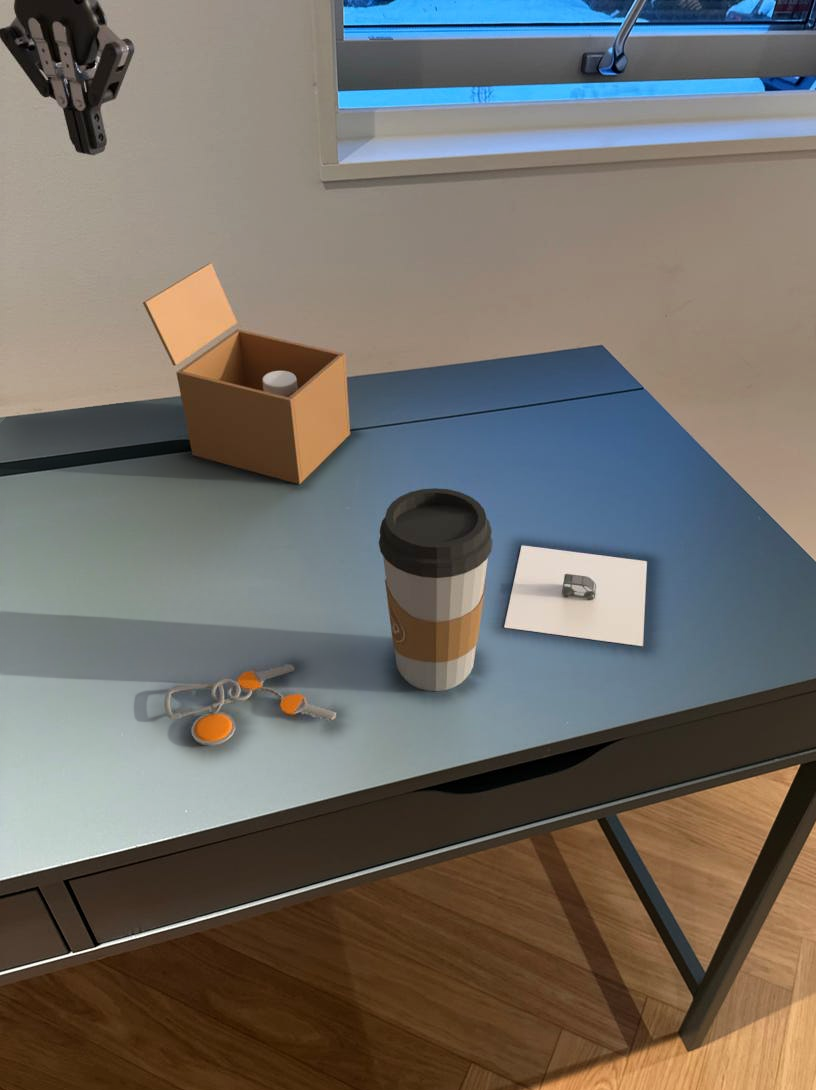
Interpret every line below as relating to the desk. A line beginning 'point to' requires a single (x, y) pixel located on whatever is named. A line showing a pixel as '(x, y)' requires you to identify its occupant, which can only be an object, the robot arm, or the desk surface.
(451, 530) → the coffee cup
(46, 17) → the robot arm
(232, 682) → the key chain
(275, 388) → the pill bottle
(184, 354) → the bin flap
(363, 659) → the desk surface
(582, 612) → the white square mat
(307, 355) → the carton
